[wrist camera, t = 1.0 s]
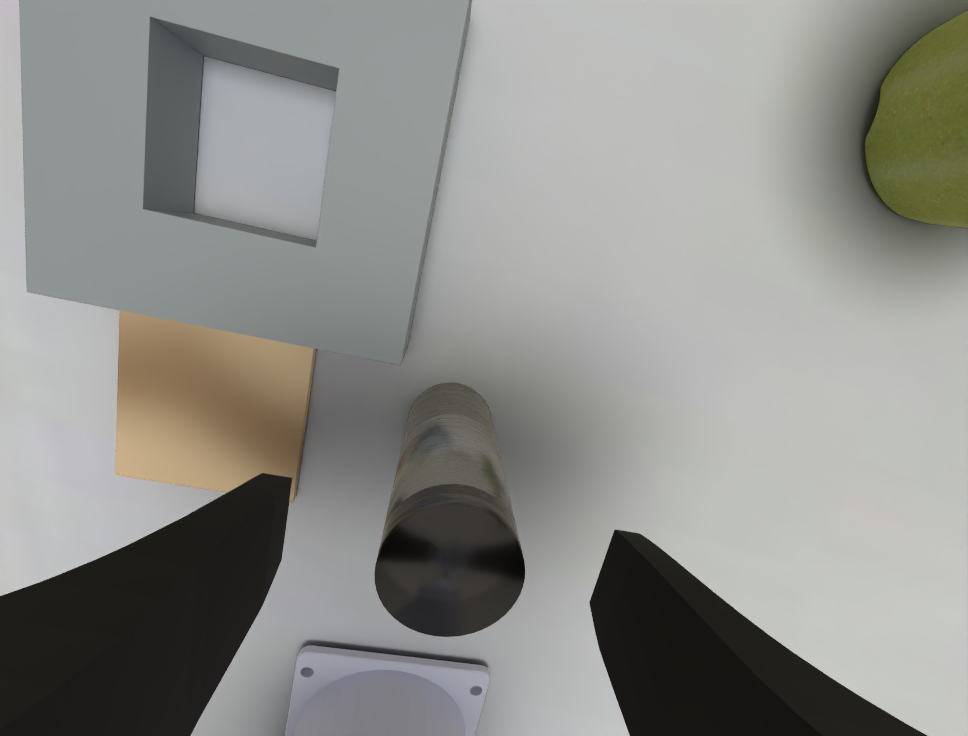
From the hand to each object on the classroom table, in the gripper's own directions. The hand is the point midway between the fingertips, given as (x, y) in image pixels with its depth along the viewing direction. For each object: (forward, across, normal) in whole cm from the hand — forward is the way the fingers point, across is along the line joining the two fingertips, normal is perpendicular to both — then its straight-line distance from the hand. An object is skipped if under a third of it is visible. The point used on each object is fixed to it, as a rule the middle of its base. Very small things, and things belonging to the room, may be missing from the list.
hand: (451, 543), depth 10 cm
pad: (+7, +8, +1) cm, 11 cm away
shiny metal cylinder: (+7, 0, 0) cm, 7 cm away
